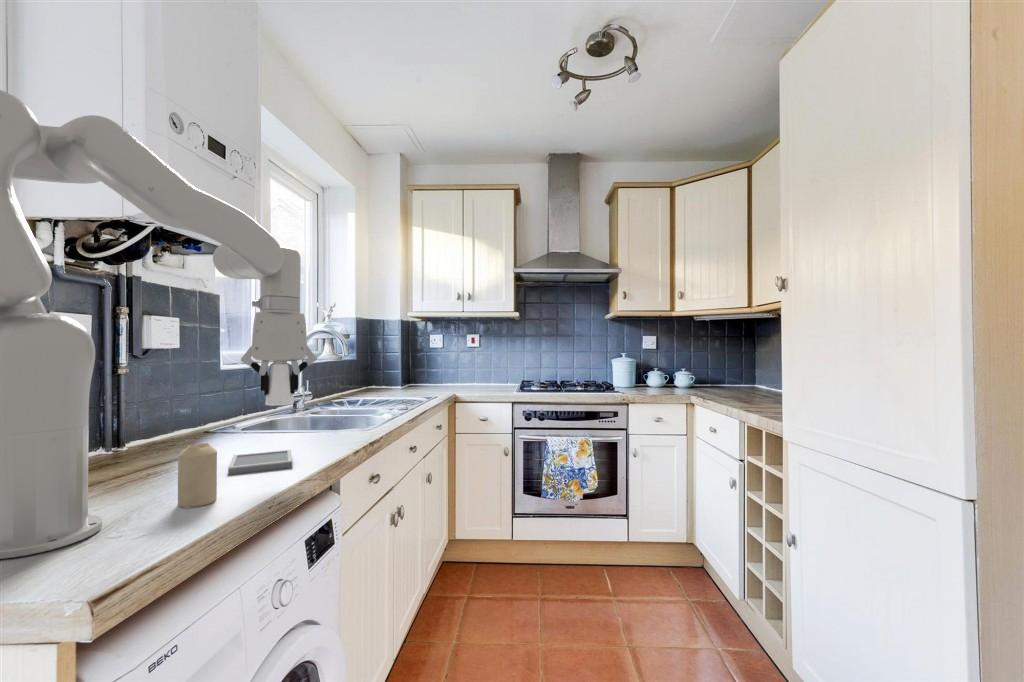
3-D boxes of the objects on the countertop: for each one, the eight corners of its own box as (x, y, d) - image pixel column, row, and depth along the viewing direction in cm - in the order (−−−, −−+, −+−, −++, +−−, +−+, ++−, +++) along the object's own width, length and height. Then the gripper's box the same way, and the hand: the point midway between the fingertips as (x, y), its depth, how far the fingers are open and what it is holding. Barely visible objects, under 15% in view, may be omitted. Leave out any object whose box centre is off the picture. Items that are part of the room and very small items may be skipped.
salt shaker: (258, 405, 92) (259, 351, 92) (277, 402, 98) (277, 351, 98) (282, 406, 91) (283, 351, 91) (299, 402, 97) (300, 351, 97)
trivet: (228, 474, 94) (228, 467, 94) (233, 461, 105) (233, 455, 105) (292, 467, 100) (292, 460, 100) (290, 455, 110) (290, 449, 110)
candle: (196, 509, 74) (197, 448, 75) (169, 507, 76) (169, 447, 76) (224, 498, 80) (224, 441, 80) (198, 496, 81) (198, 440, 81)
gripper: (231, 303, 88) (230, 397, 87) (324, 307, 95) (324, 393, 95) (235, 306, 94) (234, 393, 94) (322, 309, 102) (322, 390, 101)
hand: (279, 392), depth 94 cm, fingers closed on salt shaker, 4 cm apart
